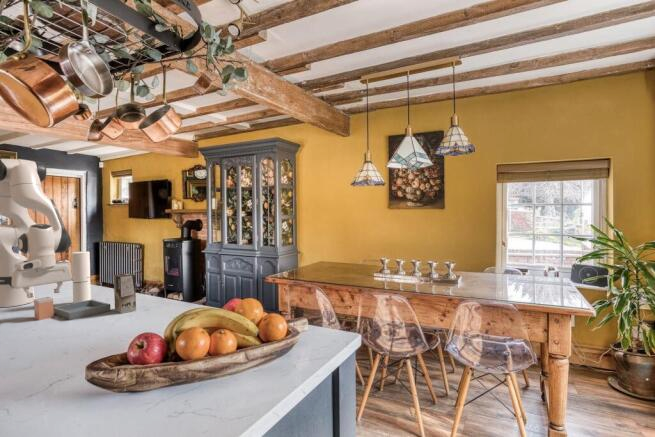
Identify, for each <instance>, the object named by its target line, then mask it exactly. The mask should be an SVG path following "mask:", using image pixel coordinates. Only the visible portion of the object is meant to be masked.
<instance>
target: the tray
mask: <svg viewBox="0 0 655 437" xmlns="http://www.w3.org/2000/svg"><path fill="white" fill-rule="evenodd" d="M110 311H111V303H107V302H103V301H100V300H96V299H91V300H87V301H82V302H77V303H73V302H72V303H68V304H67V303H66V304H63V305H56V306H53V312H54V316H57V317H60V318H62V319H65V320H68V321H72V320H76V319H81V318H84V317H85V318H86V317H89V316H90V317H91V316H94V315H97V314H98V315H99V314H102V313H107V312H110Z"/></svg>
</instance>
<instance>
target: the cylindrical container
mask: <svg viewBox="0 0 655 437" xmlns="http://www.w3.org/2000/svg"><path fill="white" fill-rule="evenodd" d="M90 255H91V254H90V251H73V252H72V253H71V274H72V301H73V302H72V303H77V302H82V301H87V300H92V290H91V286H92V284H91V262H90V261H91V257H90Z"/></svg>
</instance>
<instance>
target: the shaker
mask: <svg viewBox="0 0 655 437" xmlns="http://www.w3.org/2000/svg"><path fill="white" fill-rule="evenodd" d="M53 307H54V298H53V297H49V296H47V297H41V298H38V299H34V301H33V308H34V313H33V314H34V319H36V320H38V321H42V320H46V319H51V318H54V316H55V315H54V312H53Z"/></svg>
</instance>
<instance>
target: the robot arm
mask: <svg viewBox="0 0 655 437" xmlns="http://www.w3.org/2000/svg"><path fill="white" fill-rule="evenodd" d="M47 174H48V172H47V168H46V165H45V164H44V163H43V162H40V161H37V160H28V159H22V158H0V216H2V217H6V218H9V219H10V220H11V221H12V224H0V308H9V307H10V308H11V307H18V306H22V305H26V304H30V303H34V299H39V297H37V296H35V289H34V287H37V286H44V285H52V284H56V285H57V286H56V288H53V292H54V293H53V294H60V292H61V290H60V289H61V287H62V286H63V283H64V282H70V281H71V280H73V274H72V262H71V261H69V260H66V259H65V260H56V254H59V253H60V254H63V253H65V252H66V251H67V250H69V248H70V247H71V246H72V240H71V235H70V234H69V232H68V231H67V228H66V226H65V225H64V222H63V219H62V217H61V214H60V212H59V209H58V207H57V206H56V203H55V201H54V200H53V199H52V198H50V197H48V196H47V195H46V194H45V192H44V190H43V187H42V182H44V181H45V180H46V178H47ZM29 210H31V211H35V212H39V213H41V214H43V215H44V216H45V217H46V218H47V220H48V223H49V224H48V223H47V224H45V223H40V224H39V223H37V222H35V221H34V220H33V218H31V216H30V214H29ZM14 247H15V248H16V247H17V248H18V251H19V252H21V253H23V254H26V255H28V258H27V257H26V256H25V255H23V254H20V253H17V252H14V250H13V248H14Z"/></svg>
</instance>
